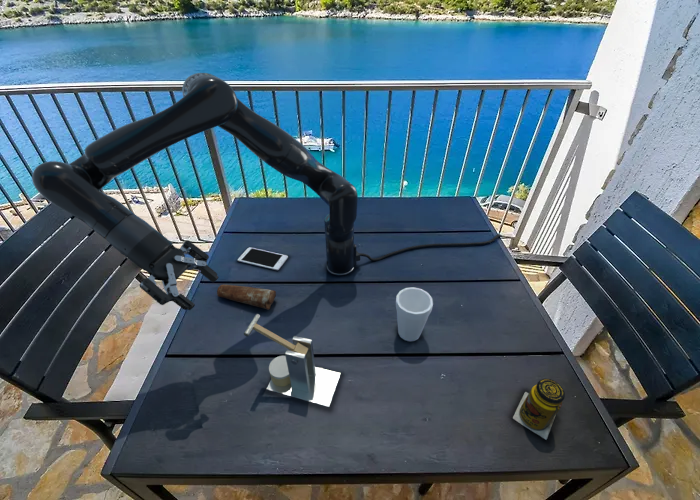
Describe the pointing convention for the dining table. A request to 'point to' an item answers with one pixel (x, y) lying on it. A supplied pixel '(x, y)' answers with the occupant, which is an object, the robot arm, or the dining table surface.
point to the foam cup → (412, 312)
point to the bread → (248, 295)
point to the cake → (279, 371)
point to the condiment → (540, 407)
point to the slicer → (307, 377)
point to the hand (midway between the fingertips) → (204, 293)
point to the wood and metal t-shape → (274, 336)
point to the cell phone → (263, 258)
